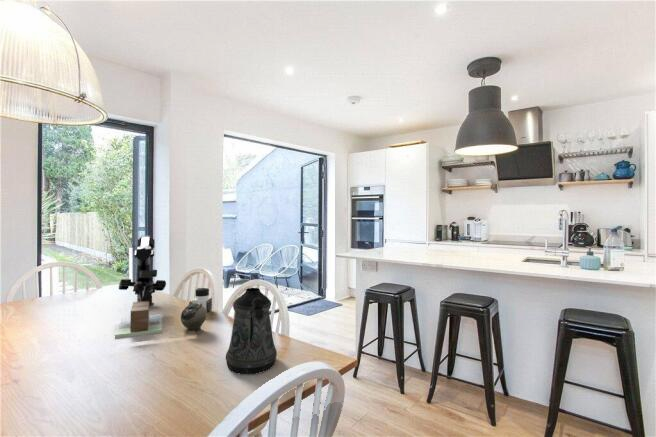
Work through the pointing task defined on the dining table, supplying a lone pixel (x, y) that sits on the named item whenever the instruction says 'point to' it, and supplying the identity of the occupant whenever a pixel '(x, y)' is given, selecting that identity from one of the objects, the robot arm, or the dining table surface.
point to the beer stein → (251, 335)
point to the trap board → (151, 330)
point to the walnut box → (140, 316)
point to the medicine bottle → (203, 298)
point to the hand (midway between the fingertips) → (142, 301)
